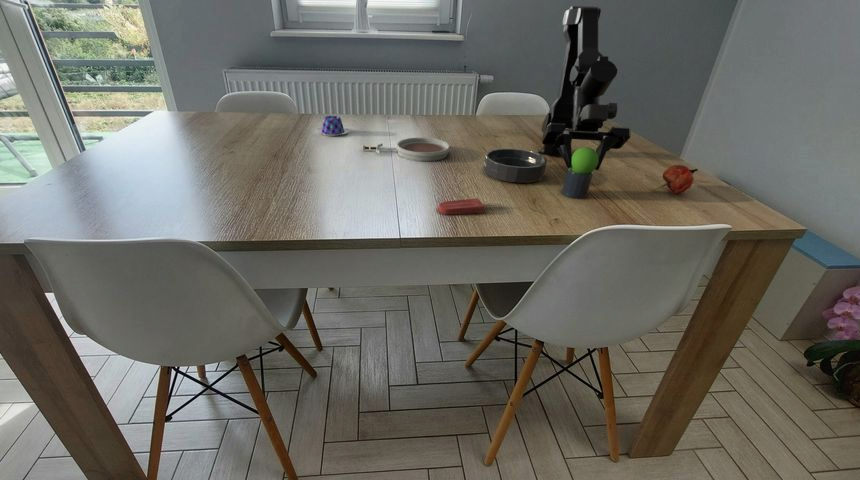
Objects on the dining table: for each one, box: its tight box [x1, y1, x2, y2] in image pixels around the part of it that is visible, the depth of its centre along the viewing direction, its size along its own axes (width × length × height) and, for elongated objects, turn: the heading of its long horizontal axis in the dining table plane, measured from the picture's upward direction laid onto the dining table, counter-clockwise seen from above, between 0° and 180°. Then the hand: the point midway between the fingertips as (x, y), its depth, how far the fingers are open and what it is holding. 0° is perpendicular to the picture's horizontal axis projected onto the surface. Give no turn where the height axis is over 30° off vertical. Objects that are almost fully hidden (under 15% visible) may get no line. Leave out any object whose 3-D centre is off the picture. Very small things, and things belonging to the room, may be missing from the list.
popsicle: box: [437, 198, 502, 216], centre depth 93 cm, size 4×2×15 cm
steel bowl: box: [482, 148, 548, 184], centre depth 112 cm, size 16×16×4 cm
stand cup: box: [561, 167, 595, 200], centre depth 100 cm, size 6×6×6 cm
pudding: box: [315, 115, 351, 137], centre depth 144 cm, size 12×12×5 cm
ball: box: [570, 146, 599, 174], centre depth 97 cm, size 6×6×6 cm
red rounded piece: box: [652, 164, 698, 195], centre depth 102 cm, size 7×7×10 cm
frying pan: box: [360, 137, 451, 162], centre depth 127 cm, size 17×3×28 cm
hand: (583, 168), depth 97 cm, fingers closed on ball, 6 cm apart
